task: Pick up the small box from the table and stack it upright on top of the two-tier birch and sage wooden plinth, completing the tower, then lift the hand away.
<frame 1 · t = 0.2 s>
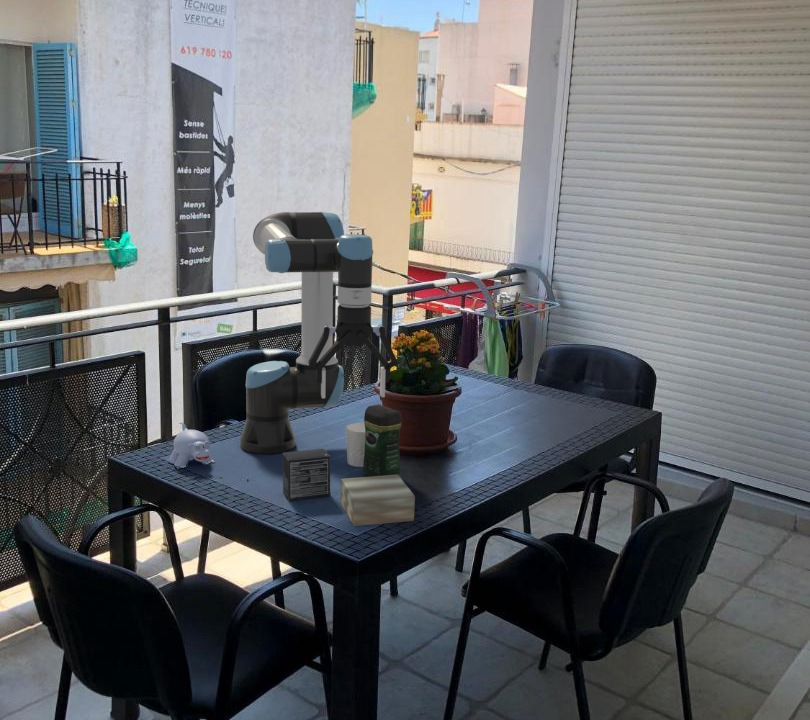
hand: (352, 396, 212), 27 cm above the table, tool pointing down, fingers open, 13 cm apart
plinth: (376, 511, 217), on the table
white cup: (360, 463, 249), on the table
hippopotamus toy: (193, 465, 244), on the table
coffee jar: (381, 477, 239), on the table
small box: (306, 495, 226), on the table
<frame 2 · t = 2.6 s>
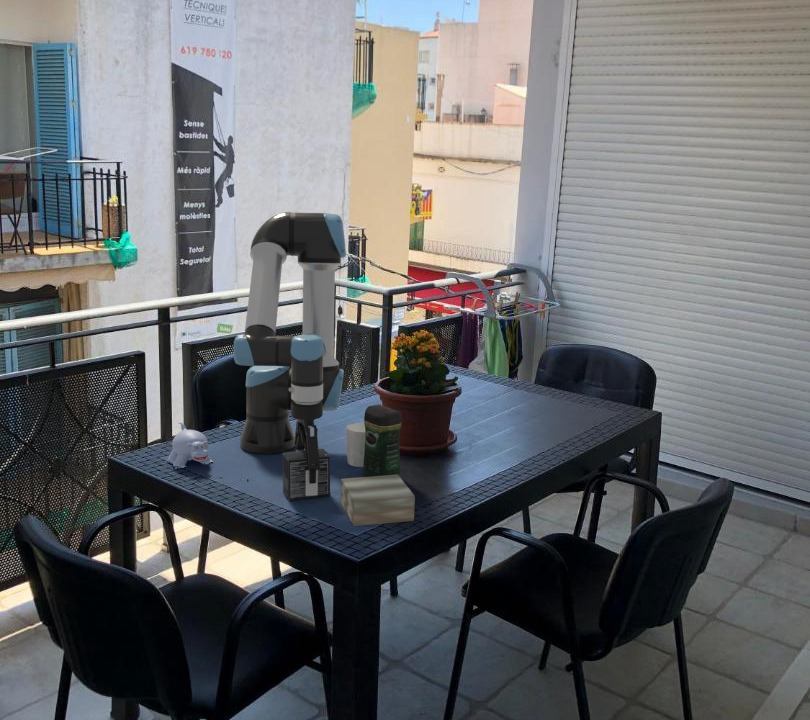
hand: (306, 485, 225), 2 cm above the table, tool pointing down, fingers open, 13 cm apart
nothing on the table moved.
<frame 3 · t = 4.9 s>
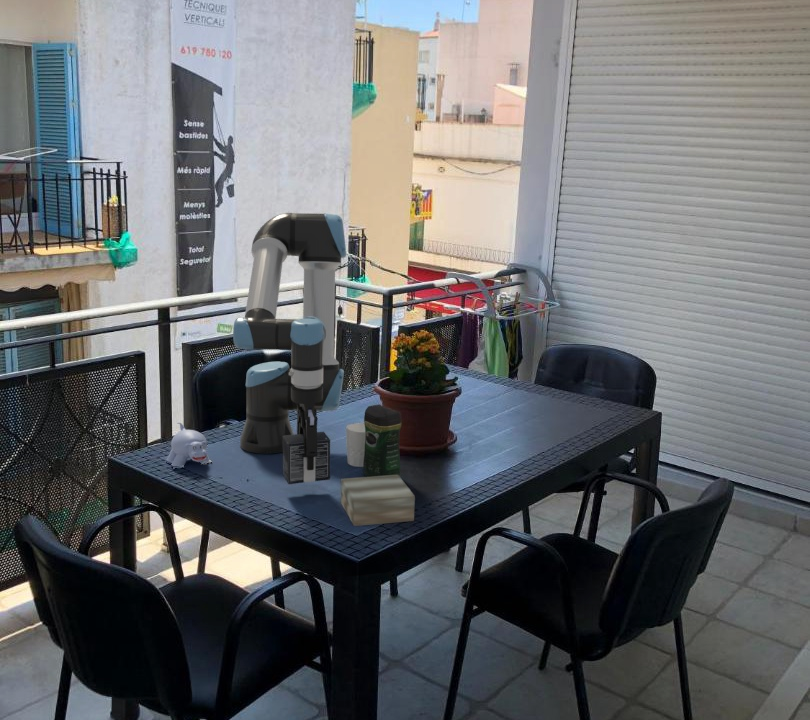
hand: (306, 475, 225), 5 cm above the table, tool pointing down, fingers closed on small box, 6 cm apart
small box: (306, 478, 225), point 4 cm above the table, touching gripper
everything else where it was.
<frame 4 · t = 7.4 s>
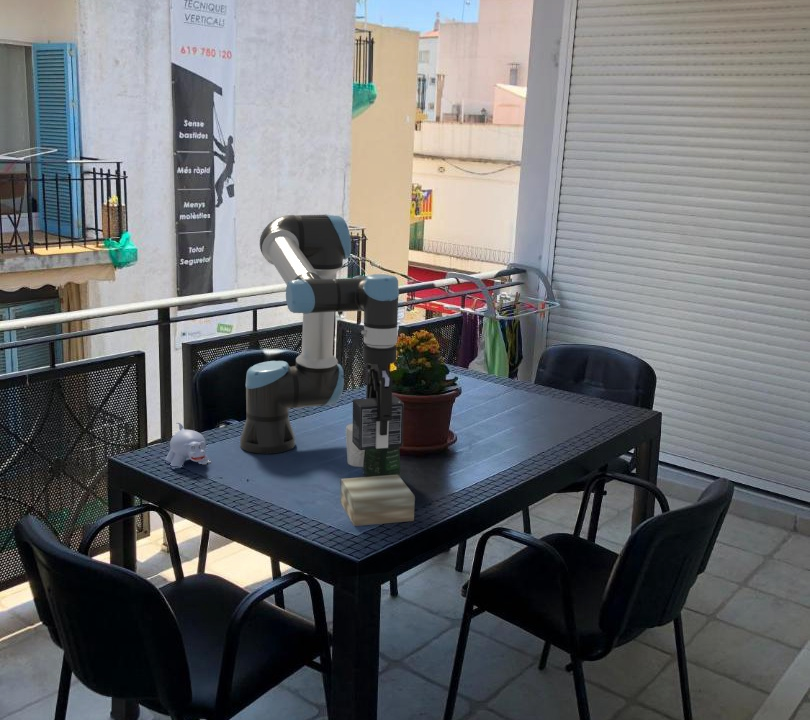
hand: (377, 442, 213), 17 cm above the table, tool pointing down, fingers closed on small box, 6 cm apart
small box: (377, 444, 213), point 16 cm above the table, touching gripper
everything else where it was.
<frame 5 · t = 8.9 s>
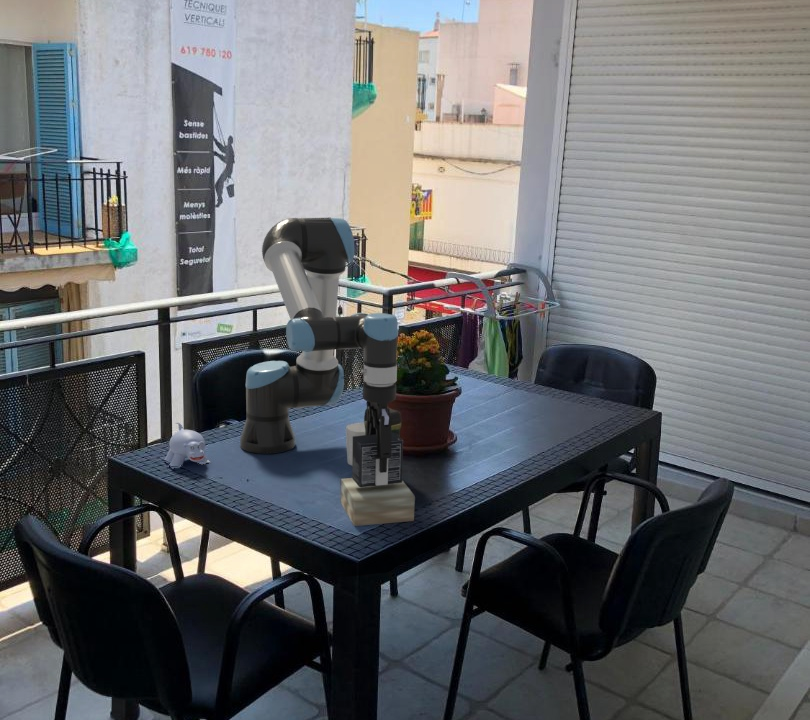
hand: (377, 478, 215), 8 cm above the table, tool pointing down, fingers closed on small box, 6 cm apart
small box: (376, 481, 215), point 7 cm above the table, touching gripper
when the fingers open (7 cm above the table, at t = 10.2 s): small box stays where it is, resting on plinth.
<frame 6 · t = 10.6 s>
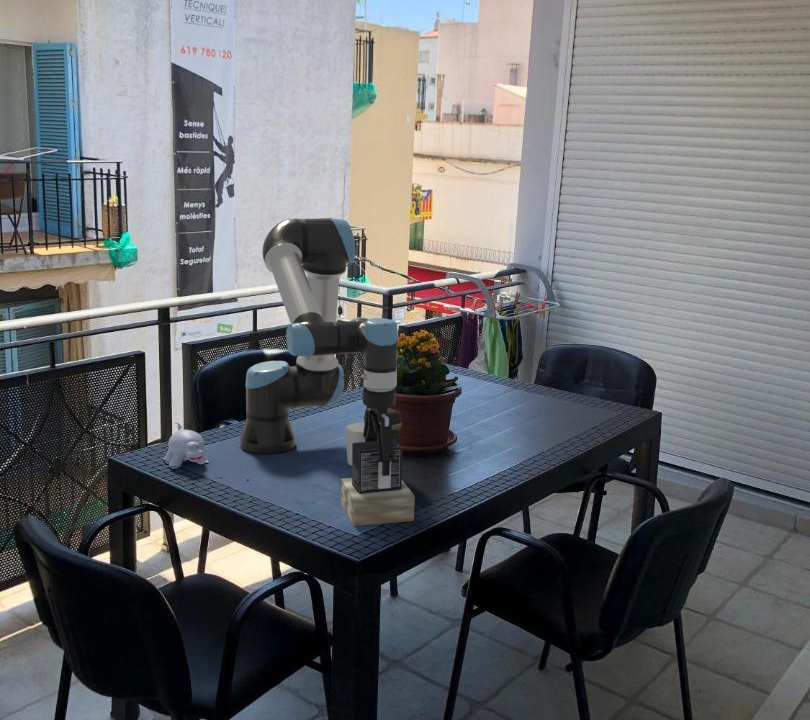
hand: (377, 478, 215), 8 cm above the table, tool pointing down, fingers open, 11 cm apart
small box: (376, 487, 215), point 6 cm above the table, touching plinth
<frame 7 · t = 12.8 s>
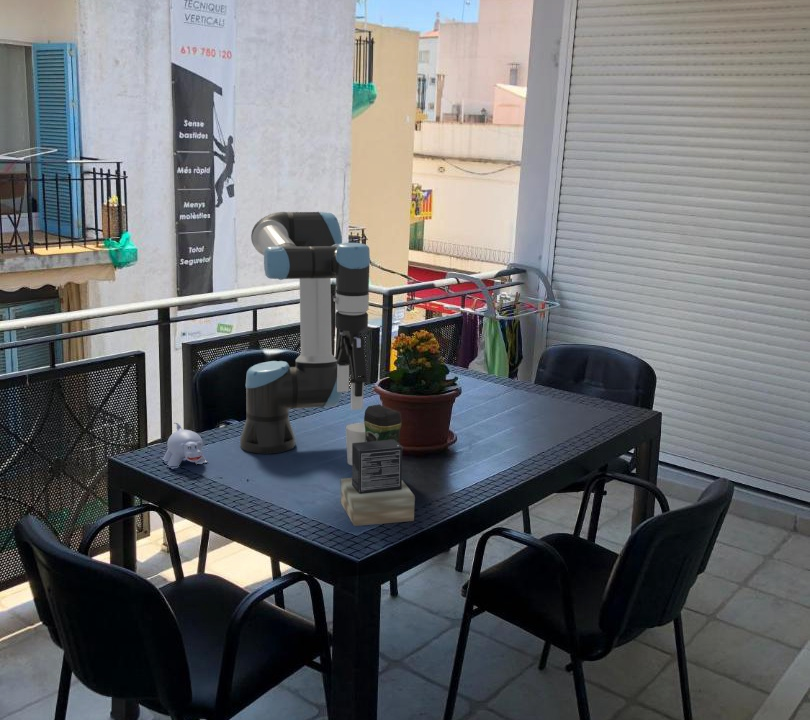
hand: (349, 400, 218), 25 cm above the table, tool pointing down, fingers open, 13 cm apart
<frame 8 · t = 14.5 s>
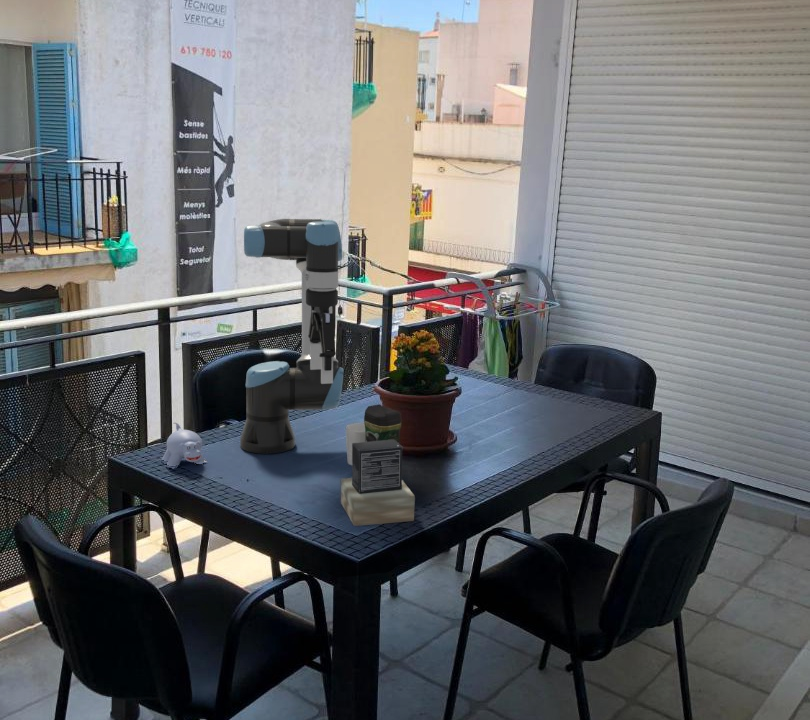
hand: (321, 376, 223), 29 cm above the table, tool pointing down, fingers open, 13 cm apart
at the end: small box 0.1 cm off-centre on the plinth, point 5.8 cm above the plinth's base; small box tilted 0°; the gripper is holding nothing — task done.
